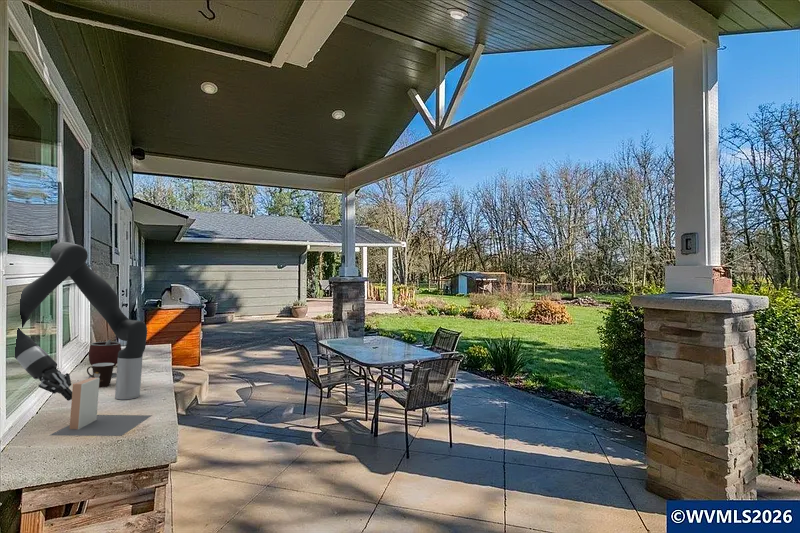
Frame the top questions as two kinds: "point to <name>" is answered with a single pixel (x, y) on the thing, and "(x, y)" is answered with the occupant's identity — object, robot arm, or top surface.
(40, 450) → the top surface
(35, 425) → the top surface
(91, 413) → the tile
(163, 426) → the top surface
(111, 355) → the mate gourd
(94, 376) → the coffee mug
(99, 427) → the mat
